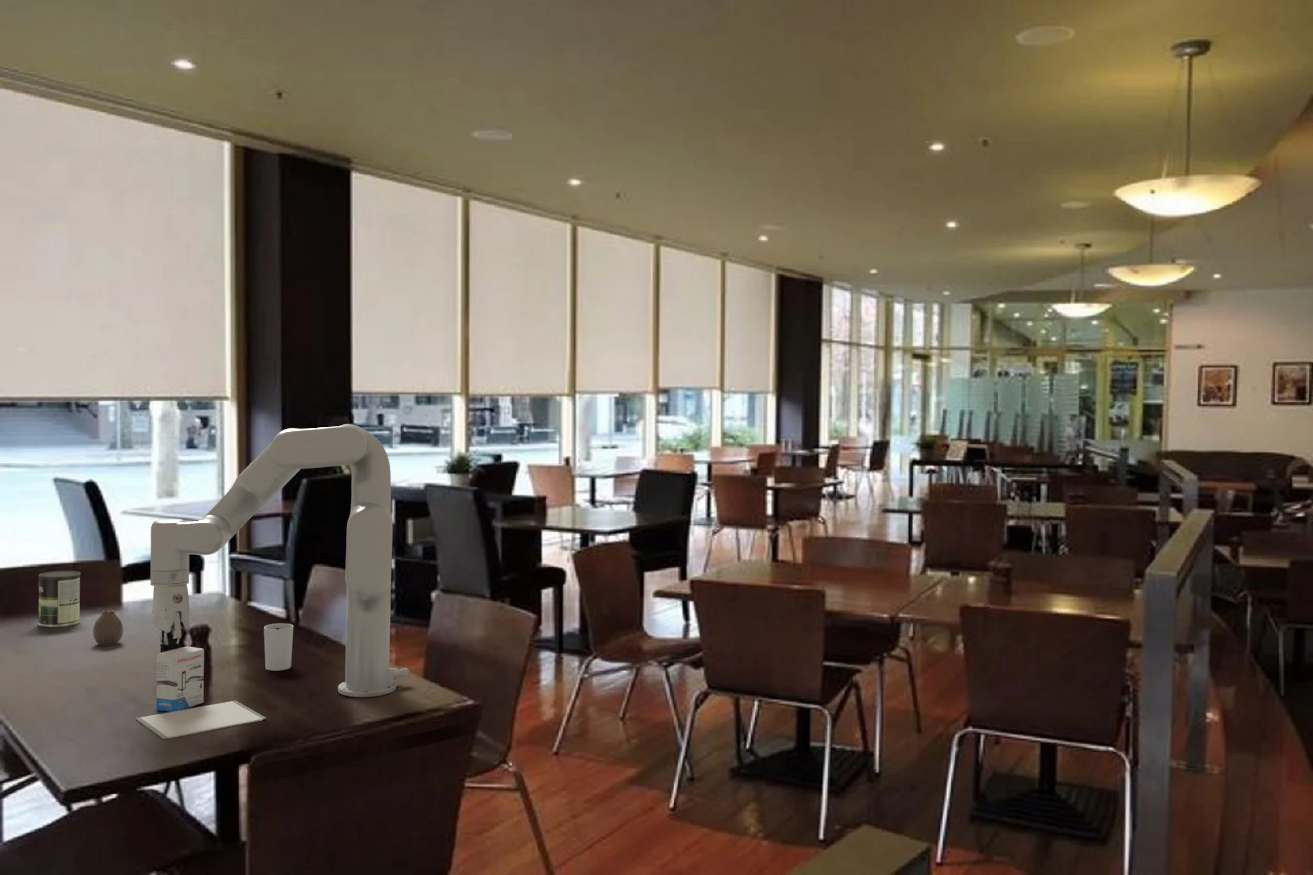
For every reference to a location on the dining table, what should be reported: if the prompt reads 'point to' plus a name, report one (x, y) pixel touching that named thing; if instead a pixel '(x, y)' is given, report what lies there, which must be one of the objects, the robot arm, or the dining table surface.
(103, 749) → the dining table surface
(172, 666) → the ink box
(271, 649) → the white cup
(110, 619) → the vase
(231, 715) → the mat
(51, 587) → the coffee can
